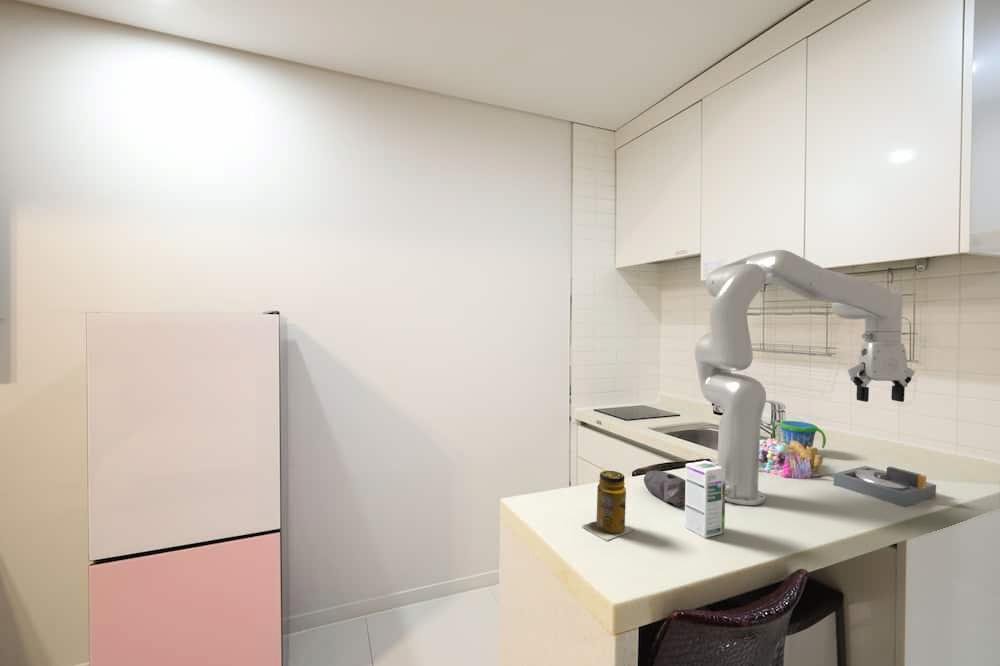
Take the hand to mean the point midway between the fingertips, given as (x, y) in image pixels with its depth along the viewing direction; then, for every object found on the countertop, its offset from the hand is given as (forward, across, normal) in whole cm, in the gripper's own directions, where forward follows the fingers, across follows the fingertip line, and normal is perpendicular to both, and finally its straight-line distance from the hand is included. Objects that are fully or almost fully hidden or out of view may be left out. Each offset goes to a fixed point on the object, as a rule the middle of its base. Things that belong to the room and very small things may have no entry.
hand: (879, 400), depth 121 cm
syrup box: (+24, -59, -24) cm, 68 cm away
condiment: (+24, -80, -24) cm, 87 cm away
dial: (+23, +2, -2) cm, 23 cm away
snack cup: (+25, 0, +33) cm, 41 cm away
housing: (+24, +1, 0) cm, 25 cm away
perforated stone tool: (+24, -61, -8) cm, 66 cm away
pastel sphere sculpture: (+25, -16, +20) cm, 36 cm away
